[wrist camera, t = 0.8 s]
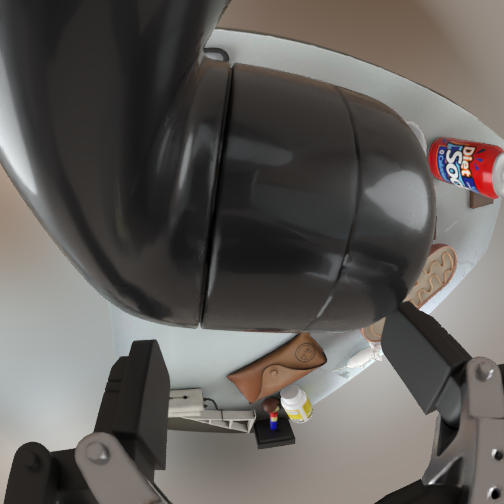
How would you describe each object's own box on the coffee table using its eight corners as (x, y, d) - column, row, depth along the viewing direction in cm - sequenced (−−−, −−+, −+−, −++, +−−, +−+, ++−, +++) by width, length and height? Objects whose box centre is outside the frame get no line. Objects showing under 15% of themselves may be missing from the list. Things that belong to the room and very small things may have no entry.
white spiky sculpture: (384, 337, 53) (373, 331, 51) (392, 359, 49) (382, 354, 47) (339, 364, 59) (326, 359, 57) (344, 385, 55) (332, 381, 52)
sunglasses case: (304, 328, 49) (323, 360, 45) (314, 334, 54) (330, 362, 50) (222, 377, 51) (236, 408, 47) (240, 379, 57) (253, 406, 53)
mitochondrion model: (364, 334, 52) (375, 350, 48) (340, 307, 49) (351, 323, 44) (446, 258, 49) (461, 269, 44) (431, 223, 45) (449, 232, 40)
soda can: (459, 160, 41) (520, 177, 27) (438, 188, 43) (500, 213, 29) (440, 127, 38) (506, 136, 24) (418, 156, 40) (485, 173, 26)
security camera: (130, 415, 55) (121, 377, 48) (247, 422, 61) (260, 387, 54) (127, 432, 50) (117, 397, 44) (249, 439, 56) (264, 407, 50)
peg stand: (470, 168, 42) (516, 182, 31) (491, 165, 42) (533, 179, 31) (469, 207, 45) (512, 227, 34) (490, 202, 45) (530, 219, 34)
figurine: (295, 443, 53) (297, 406, 51) (258, 449, 52) (255, 412, 50) (288, 423, 61) (289, 385, 59) (253, 428, 60) (251, 390, 58)
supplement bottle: (306, 399, 59) (296, 376, 55) (317, 415, 54) (308, 393, 50) (285, 411, 58) (272, 388, 54) (295, 427, 53) (283, 407, 49)
